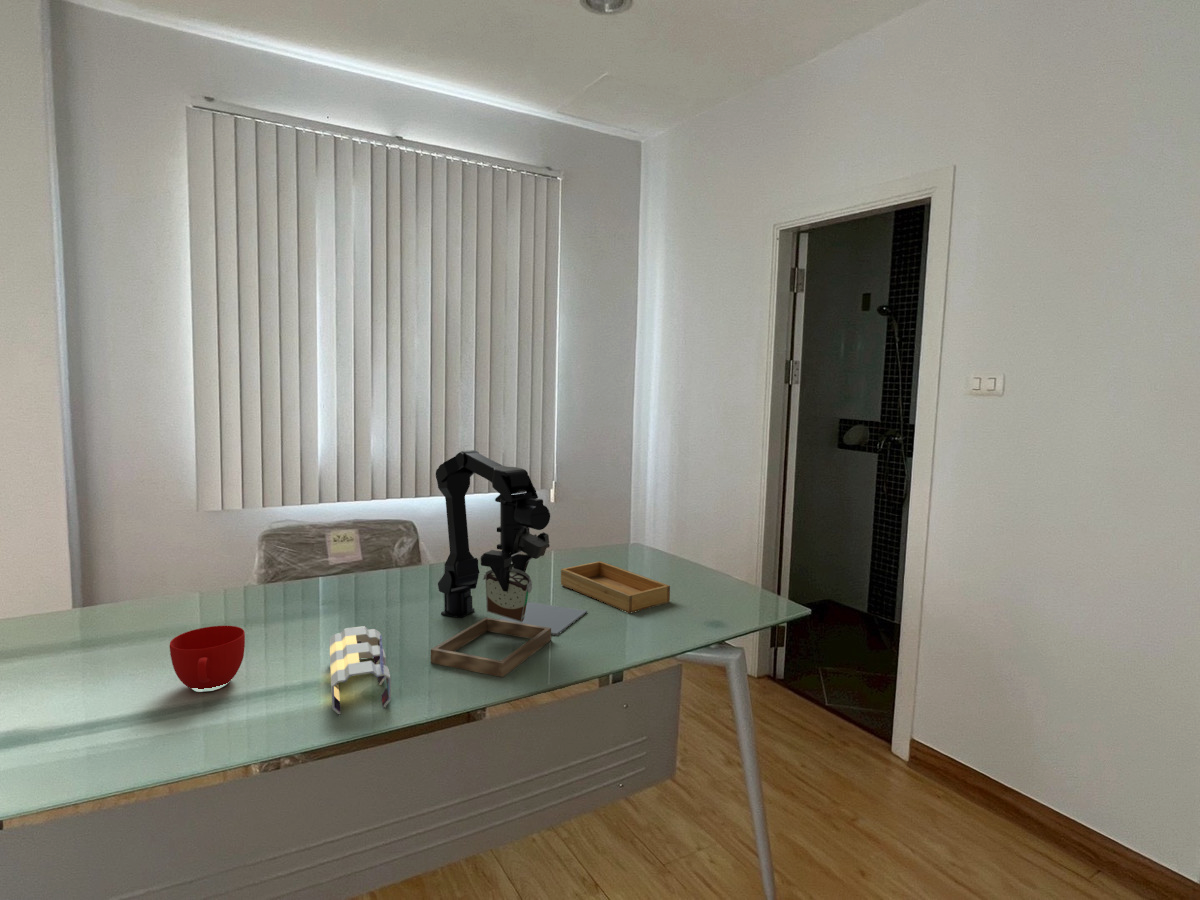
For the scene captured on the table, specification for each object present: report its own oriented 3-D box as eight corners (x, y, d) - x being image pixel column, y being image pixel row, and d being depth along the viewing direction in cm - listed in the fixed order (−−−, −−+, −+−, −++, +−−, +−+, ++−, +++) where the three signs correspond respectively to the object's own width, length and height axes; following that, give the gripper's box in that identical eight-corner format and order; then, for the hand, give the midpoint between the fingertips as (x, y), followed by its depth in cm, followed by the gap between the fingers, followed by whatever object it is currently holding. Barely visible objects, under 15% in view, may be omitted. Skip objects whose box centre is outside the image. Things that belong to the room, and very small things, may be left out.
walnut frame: (430, 662, 148) (430, 649, 147) (485, 629, 168) (485, 617, 168) (502, 677, 141) (502, 663, 140) (551, 640, 161) (551, 628, 161)
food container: (539, 612, 164) (542, 574, 161) (527, 624, 158) (529, 585, 156) (495, 599, 168) (497, 562, 166) (481, 609, 163) (483, 571, 160)
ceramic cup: (162, 715, 124) (159, 662, 123) (178, 677, 139) (175, 630, 138) (242, 702, 129) (240, 651, 128) (249, 667, 145) (247, 621, 144)
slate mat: (492, 625, 171) (492, 622, 170) (527, 603, 187) (527, 601, 187) (556, 635, 164) (556, 633, 164) (587, 612, 180) (587, 610, 180)
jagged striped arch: (391, 708, 128) (389, 641, 126) (332, 718, 124) (330, 649, 123) (380, 658, 151) (378, 600, 149) (330, 665, 147) (328, 606, 146)
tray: (669, 603, 189) (670, 583, 189) (629, 615, 180) (629, 594, 179) (600, 578, 213) (600, 560, 212) (560, 587, 203) (560, 569, 203)
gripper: (522, 534, 148) (522, 604, 150) (561, 518, 165) (561, 581, 167) (479, 529, 152) (479, 597, 154) (521, 514, 169) (521, 575, 171)
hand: (512, 587), depth 161 cm, fingers closed on food container, 6 cm apart
